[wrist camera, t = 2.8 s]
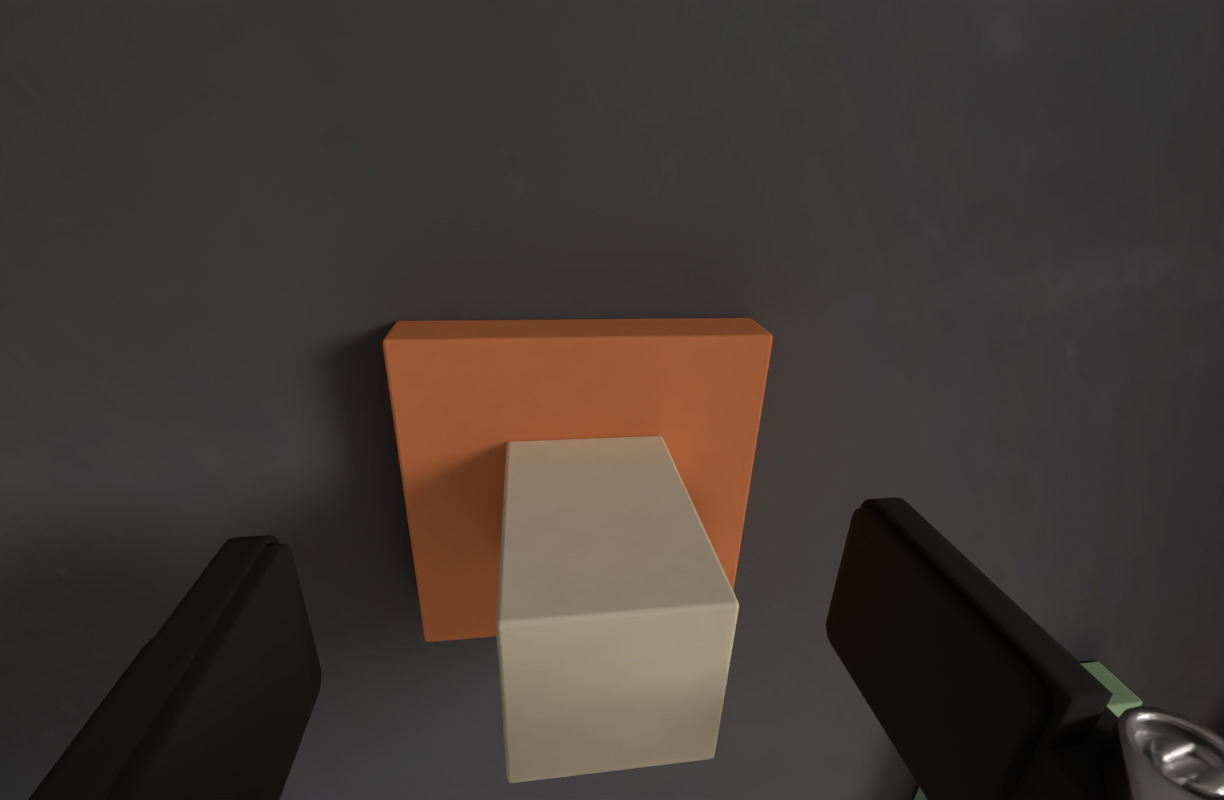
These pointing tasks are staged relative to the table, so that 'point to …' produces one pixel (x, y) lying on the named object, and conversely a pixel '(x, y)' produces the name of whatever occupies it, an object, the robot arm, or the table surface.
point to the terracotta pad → (561, 397)
